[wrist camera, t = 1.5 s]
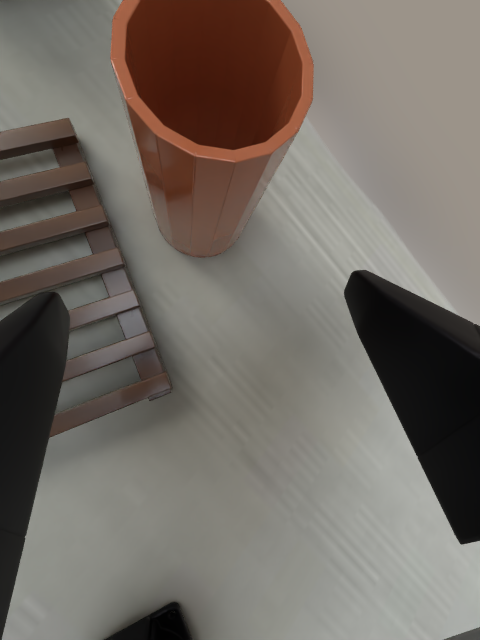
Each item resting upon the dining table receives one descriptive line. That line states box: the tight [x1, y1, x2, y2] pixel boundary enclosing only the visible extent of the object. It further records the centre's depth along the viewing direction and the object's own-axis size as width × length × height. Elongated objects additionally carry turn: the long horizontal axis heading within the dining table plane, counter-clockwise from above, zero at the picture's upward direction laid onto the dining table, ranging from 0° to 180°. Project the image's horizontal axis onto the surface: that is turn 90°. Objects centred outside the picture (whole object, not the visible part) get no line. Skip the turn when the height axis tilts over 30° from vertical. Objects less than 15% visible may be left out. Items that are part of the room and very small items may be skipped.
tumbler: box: [110, 0, 314, 257], centre depth 16 cm, size 7×7×13 cm
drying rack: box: [0, 118, 172, 438], centre depth 19 cm, size 20×15×2 cm
